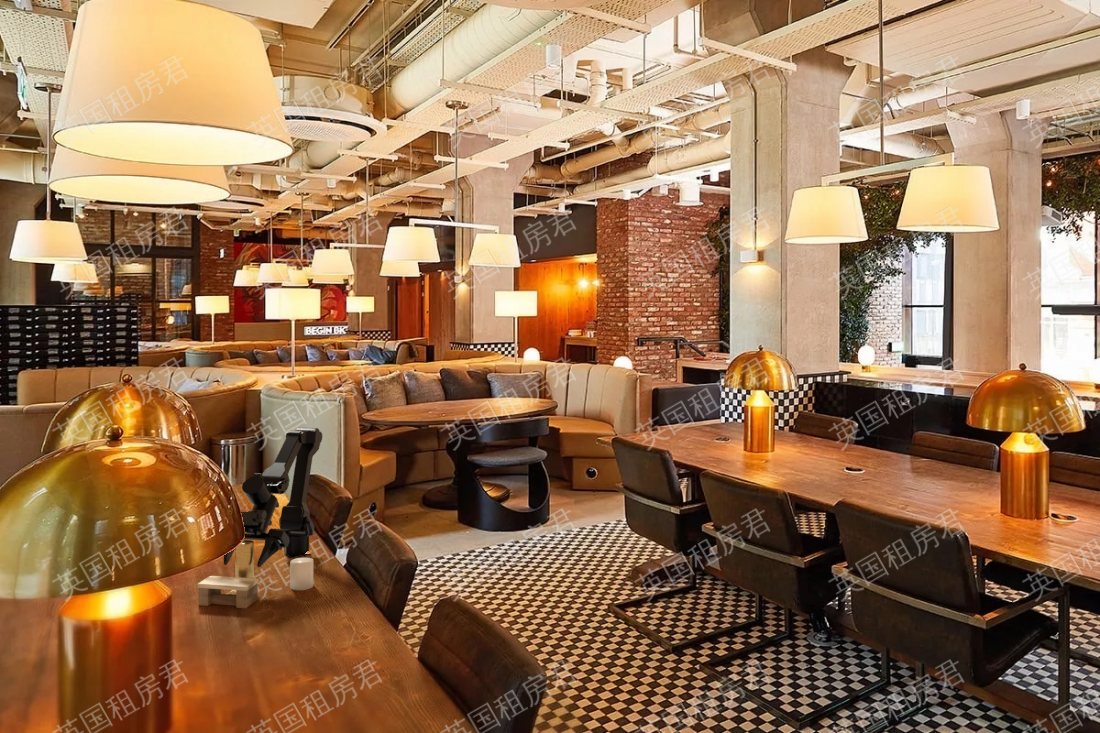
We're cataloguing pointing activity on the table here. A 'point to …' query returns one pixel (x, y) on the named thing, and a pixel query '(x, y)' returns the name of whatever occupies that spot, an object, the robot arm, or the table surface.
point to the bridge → (214, 584)
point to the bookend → (244, 561)
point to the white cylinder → (301, 573)
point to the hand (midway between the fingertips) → (241, 565)
